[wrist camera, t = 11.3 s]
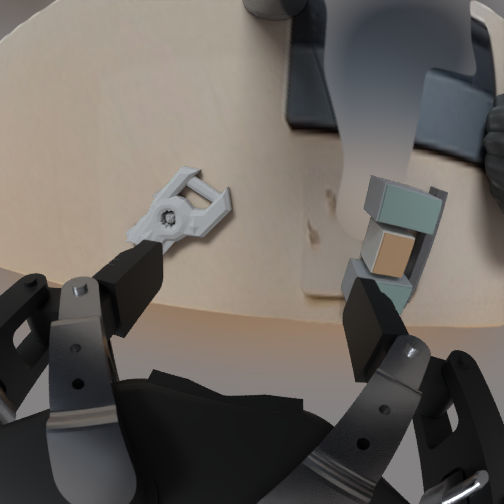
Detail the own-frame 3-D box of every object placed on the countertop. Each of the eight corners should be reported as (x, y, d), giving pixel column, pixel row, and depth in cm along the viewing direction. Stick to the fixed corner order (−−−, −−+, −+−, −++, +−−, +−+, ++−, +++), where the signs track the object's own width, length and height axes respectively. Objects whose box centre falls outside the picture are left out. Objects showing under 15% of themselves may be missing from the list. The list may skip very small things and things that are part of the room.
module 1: (371, 175, 34) (386, 183, 28) (422, 190, 34) (443, 200, 28) (363, 208, 36) (377, 222, 31) (414, 221, 36) (433, 236, 30)
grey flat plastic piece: (160, 282, 42) (117, 239, 40) (168, 273, 45) (127, 232, 43) (239, 202, 36) (187, 151, 34) (242, 198, 39) (195, 151, 37)
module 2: (370, 216, 37) (384, 232, 31) (399, 223, 37) (416, 239, 31) (360, 253, 39) (371, 274, 33) (388, 259, 39) (402, 279, 33)
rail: (430, 186, 33) (438, 189, 31) (445, 191, 33) (453, 195, 31) (393, 299, 42) (397, 307, 39) (407, 301, 42) (412, 309, 39)
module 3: (349, 258, 40) (359, 279, 34) (399, 267, 39) (413, 287, 33) (341, 286, 42) (348, 309, 36) (389, 293, 41) (401, 316, 35)
